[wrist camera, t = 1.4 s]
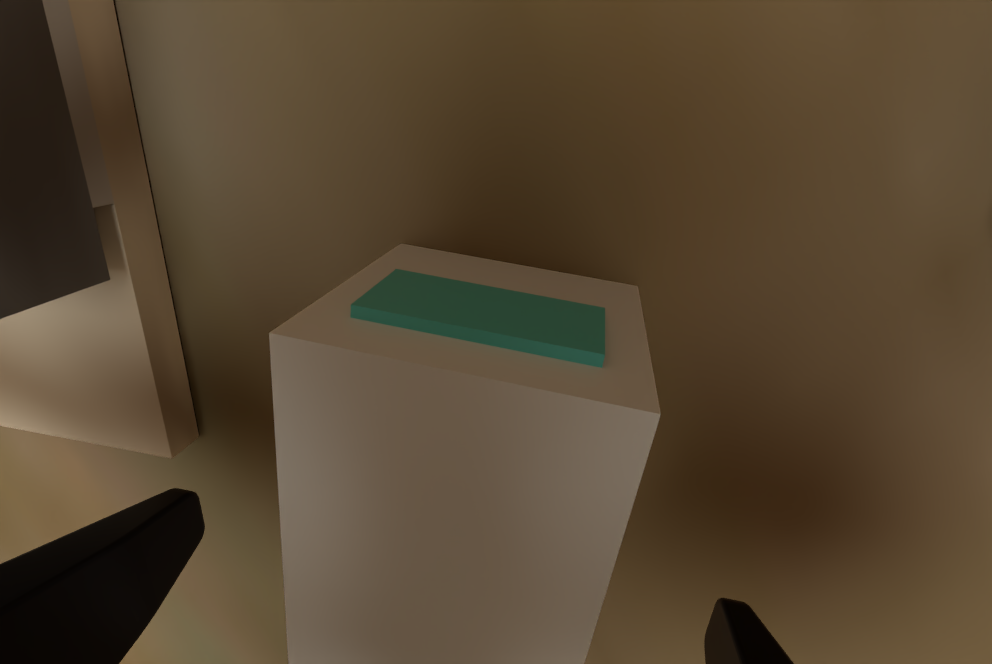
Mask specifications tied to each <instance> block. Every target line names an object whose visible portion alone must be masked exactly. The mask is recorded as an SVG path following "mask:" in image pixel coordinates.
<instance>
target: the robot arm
mask: <svg viewBox="0 0 992 664" xmlns="http://www.w3.org/2000/svg"><path fill="white" fill-rule="evenodd" d="M204 529H205V524H204V519H203V514H202V510H201V505H200V500H199V496H198V495H197V494H196V493H195V492H193V491H189V490H184V489H178V488H174V489H170V490H167V491H165V492H163V493H160V494H158V495H156V496H154V497H151V498H149V499H147V500H145V501H142V502H140V503H138V504H135V505H133V506H131V507H129V508H126V509H124V510H122V511H120V512H117V513H115V514H113V515H111V516H108V517H106V518H104V519H101V520H99V521H97V522H95V523H92V524H90V525H88V526H86V527H83V528H81V529H79V530H77V531H74V532H72V533H70V534H67V535H65V536H63V537H61V538H58V539H56V540H54V541H52V542H49V543H47V544H45V545H42V546H40V547H38V548H36V549H33V550H31V551H29V552H27V553H24V554H22V555H20V556H17V557H15V558H13V559H11V560H8V561H6V562H4V563H2V564H0V664H119V663H120V662H121V660H122V659H123V658H124V656H125V655H126V654H127V652H128V651H129V650H130V648H131V647H132V646H133V644H134V643H135V642H136V640H137V639H138V638H139V636H140V635H141V633H142V632H143V631H144V629H145V628H146V626H147V625H148V624H149V622H150V621H151V619H152V618H153V616H154V615H155V613H156V612H157V610H158V609H159V607H160V606H161V604H162V602H163V601H164V599H165V597H166V596H167V594H168V593H169V591H170V589H171V588H172V586H173V585H174V583H175V581H176V580H177V578H178V577H179V575H180V573H181V572H182V570H183V569H184V567H185V565H186V564H187V562H188V560H189V559H190V557H191V556H192V554H193V552H194V551H195V549H196V548H197V546H198V544H199V543H200V541H201V539H202V537H203V534H204ZM704 647H705V661H706V664H794V663H793V662H792V661H791V659H790V658H789V657H788V655H787V654H786V653H785V651H784V650H783V649H782V648H781V646H780V645H779V644H778V642H777V641H776V640H775V638H774V637H773V636H772V635H771V633H770V632H769V631H768V629H767V628H766V627H765V625H764V624H763V623H762V622H761V620H760V619H759V618H758V616H757V615H756V614H755V612H754V611H753V610H752V609H751V607H750V606H749V605H747V604H746V603H744V602H741V601H736V600H731V599H726V598H720V599H718V600H717V602H716V604H715V607H714V610H713V612H712V615H711V618H710V621H709V624H708V627H707V630H706V634H705V645H704Z"/></svg>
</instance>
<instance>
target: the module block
mask: <svg viewBox="0 0 992 664" xmlns="http://www.w3.org/2000/svg"><path fill="white" fill-rule="evenodd" d="M269 342H270V359H271V376H272V393H273V410H274V427H275V444H276V461H277V478H278V495H279V512H280V529H281V546H282V563H283V580H284V597H285V614H286V631H287V648H288V664H584V663H585V660H586V656H587V653H588V650H589V647H590V643H591V640H592V637H593V634H594V630H595V627H596V624H597V621H598V617H599V614H600V611H601V608H602V604H603V601H604V598H605V595H606V591H607V588H608V585H609V581H610V578H611V575H612V572H613V568H614V565H615V562H616V559H617V555H618V552H619V549H620V546H621V542H622V539H623V536H624V533H625V529H626V526H627V523H628V520H629V516H630V513H631V510H632V507H633V503H634V500H635V497H636V494H637V490H638V487H639V484H640V481H641V477H642V474H643V471H644V468H645V464H646V461H647V458H648V455H649V451H650V448H651V445H652V442H653V438H654V435H655V432H656V428H657V425H658V422H659V419H660V415H661V412H660V407H659V401H658V396H657V390H656V384H655V379H654V373H653V368H652V362H651V356H650V351H649V345H648V340H647V334H646V329H645V323H644V317H643V312H642V306H641V301H640V295H639V289H638V286H635V285H630V284H624V283H619V282H613V281H607V280H602V279H596V278H591V277H585V276H580V275H574V274H568V273H563V272H557V271H552V270H546V269H541V268H535V267H530V266H524V265H518V264H513V263H507V262H502V261H496V260H491V259H485V258H480V257H474V256H468V255H463V254H457V253H452V252H446V251H441V250H435V249H430V248H424V247H418V246H413V245H407V244H402V243H400V244H399V245H398V246H396V247H395V248H393V249H392V250H390V251H389V252H387V253H386V254H384V255H383V256H381V257H380V258H378V259H377V260H375V261H374V262H372V263H371V264H370V265H368V266H367V267H365V268H364V269H362V270H361V271H359V272H358V273H356V274H355V275H353V276H352V277H350V278H349V279H347V280H346V281H344V282H343V283H342V284H340V285H339V286H337V287H336V288H334V289H333V290H331V291H330V292H328V293H327V294H325V295H324V296H322V297H321V298H319V299H318V300H316V301H315V302H314V303H312V304H311V305H309V306H308V307H306V308H305V309H303V310H302V311H300V312H299V313H297V314H296V315H294V316H293V317H291V318H290V319H288V320H287V321H285V322H284V323H283V324H281V325H280V326H278V327H277V328H275V329H274V330H272V331H271V332H269Z"/></svg>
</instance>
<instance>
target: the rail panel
mask: <svg viewBox="0 0 992 664" xmlns="http://www.w3.org/2000/svg"><path fill="white" fill-rule="evenodd" d="M0 426H5V427H10V428H15V429H20V430H26V431H31V432H36V433H41V434H46V435H52V436H57V437H62V438H67V439H72V440H78V441H83V442H88V443H93V444H98V445H104V446H109V447H114V448H119V449H124V450H130V451H135V452H140V453H145V454H151V455H156V456H161V457H166V458H171V459H172V458H174V457H175V456H176V455H177V454H178V453H180V452H181V451H182V450H183V449H185V448H186V447H187V446H188V445H189V444H191V443H192V442H193V441H194V440H195V439H197V438H198V437H199V433H198V428H197V423H196V418H195V413H194V408H193V403H192V398H191V393H190V387H189V382H188V377H187V372H186V367H185V362H184V357H183V352H182V347H181V342H180V337H179V332H178V327H177V322H176V317H175V311H174V306H173V301H172V296H171V291H170V286H169V281H168V276H167V271H166V266H165V261H164V256H163V251H162V246H161V240H160V235H159V230H158V225H157V220H156V215H155V210H154V205H153V200H152V195H151V190H150V185H149V180H148V175H147V169H146V164H145V159H144V154H143V149H142V144H141V139H140V134H139V129H138V124H137V119H136V114H135V109H134V104H133V99H132V93H131V88H130V83H129V78H128V73H127V68H126V63H125V58H124V53H123V48H122V43H121V38H120V33H119V28H118V22H117V17H116V12H115V7H114V2H113V0H0Z"/></svg>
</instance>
